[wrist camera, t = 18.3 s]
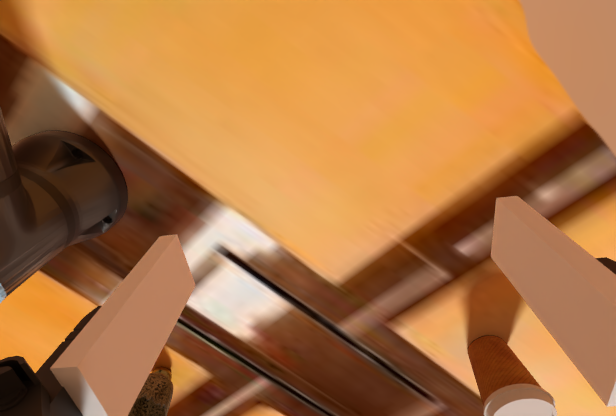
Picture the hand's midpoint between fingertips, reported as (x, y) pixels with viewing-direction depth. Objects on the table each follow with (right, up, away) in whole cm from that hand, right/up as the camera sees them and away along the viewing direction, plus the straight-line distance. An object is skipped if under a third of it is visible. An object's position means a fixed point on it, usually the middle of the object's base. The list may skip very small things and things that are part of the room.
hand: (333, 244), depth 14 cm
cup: (-28, -29, +50) cm, 64 cm away
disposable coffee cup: (+29, -22, +44) cm, 57 cm away
